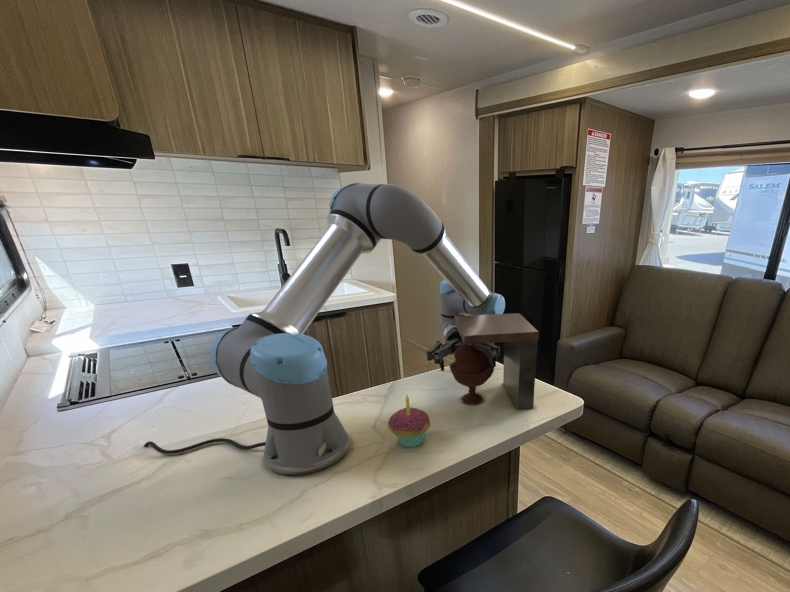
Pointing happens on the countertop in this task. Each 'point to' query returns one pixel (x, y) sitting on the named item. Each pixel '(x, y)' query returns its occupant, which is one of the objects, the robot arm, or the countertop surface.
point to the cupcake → (409, 425)
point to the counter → (507, 349)
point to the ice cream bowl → (471, 370)
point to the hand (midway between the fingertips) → (468, 364)
